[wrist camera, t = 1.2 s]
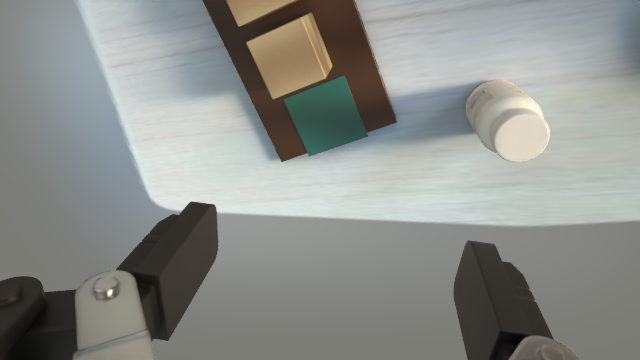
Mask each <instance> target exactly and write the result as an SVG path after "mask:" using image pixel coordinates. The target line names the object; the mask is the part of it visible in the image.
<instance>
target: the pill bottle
mask: <svg viewBox="0 0 640 360" xmlns="http://www.w3.org/2000/svg"><path fill="white" fill-rule="evenodd" d="M466 116H467V119H468V121H469V122H470V124H471V126H472V128H473V129H474V131H475V132H476V134H477V136H478V137H479V139H480V140H481V142H482V143H483V144H484V146H485V147H486V148H488V149H489V150H491V151H493V152H495V153H498V155H499V156H500V157H502V158H503V159H505V160H507V161H510V162H525V161H528V160H531V159H533V158H535V157H537V156H538V155H539V154H540V153H542V151H543V150H544V149H545V148H546V146H547V144H548V141H549V137H550V131H549V127H548V125H547V123H546V122H545V121H544V118H543V114H542V111H541V109H540V107H539V106H538V105H537V103H536V102H535V101H534V100H532V99H531V98H530V97H529V96H528V95H526V94H525V93H524V92H522V91H521V90H520V89H519V88H517V87H516V86H515V85H513V84H512V83H510V82H508V81H504V80H492V81H488V82H485V83H483V84H481V85H479V86H478V87H477V88H476V89H475V90H474V91H473V92H472V93H471V95H470V96H469V98H468V100H467V103H466Z"/></svg>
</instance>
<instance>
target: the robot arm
mask: <svg viewBox="0 0 640 360" xmlns="http://www.w3.org/2000/svg"><path fill="white" fill-rule="evenodd" d="M217 251H218V231H217V212H216V207H215V205H213V204H206V203H199V202H190V203H189V204H188V205H187V206H186V207H185V209H184V210H183V211H182V212H181V213H180V215H175V214H172V215H170V216H169V217H167V218H165V219H163V220H162V221H160V222H159V223H157V225H156V226H155V227H154V228H153V229H152V230H151V231H150V234H148V235H147V236H146V237H145V238H144V239H143V240H142V242H140V243H139V245H138V246H137V247H136V248H135V249H134V250H133V251H132V252H131V253H130V255H129V256H128V257H127V258H126V259H125V260H124V261H123V262H122V263H121V265H120V266H119V267H118V268H117V269H116V270H112V271H106V272H102V273H99V274H96V275H94V276H92V277H90V278H88V279H87V280H85V281H84V282H83V283H82V284H81V285H80V286H79V287H78V289H76V290H66V291H55V292H44V290H43V286H42V284H41V282H40V281H39V280H38V279H36V278H33V277H27V276H26V277H25V276H22V277H14V278H9V279H6V280H3V281H0V360H156V359H155V355H154V351H153V347H152V341H153V339H160V340H166V341H168V340H169V338H170V337H171V335H172V333H173V332H174V330H175V328H176V326H177V324H178V323H179V321H180V320H181V318H182V316H183V315H184V313H185V311H186V309H187V308H188V306H189V304H190V303H191V301H192V299H193V297H194V296H195V294H196V292H197V291H198V289H199V287H200V285H201V284H202V282H203V280H204V278H205V277H206V275H207V273H208V272H209V270H210V268H211V266H212V265H213V263H214V261H215V258H216V255H217ZM534 300H535V299H534V297H533V295H532V293H531V291H529V286H528V284H527V282H526V280H525V278H524V276H523V274H522V273H521V272H520V271H519V270H517V269H516V267H514V266H513V265H512V264H511V263H509V262H502V260H501V258H500V256H499V253H498V251H497V248H496V246H495V245H494V244H491V243H483V242H476V241H467V243H466V245H465V247H464V251H463V254H462V257H461V261H460V264H459V268H458V271H457V274H456V277H455V282H454V301H455V306H456V309H457V314H458V319H459V323H460V328H461V332H462V337H463V341H464V345H465V350H466V354H467V359H468V360H579V358H578V357H577V356H576V355H575V354H574V353H573V352H572V351H571V350H570V349H568V348H567V347H566V346H564V345H562V344H561V343H559V342H557V341H555V340H554V339H553V337H552V335H551V333H550V331H549V328H548V326H547V324H546V322H545V320H544V318H543V316H542V314H541V311H540V309H539V307H538V305H537V303H536V302H535V301H534Z"/></svg>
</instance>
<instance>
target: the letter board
mask: <svg viewBox="0 0 640 360" xmlns="http://www.w3.org/2000/svg"><path fill="white" fill-rule="evenodd" d="M203 2H204V4H205V6H206V8H207V10H208V12H209V14H210V16H211V18H212V20H213V22H214V24H215V26H216V28H217V30H218V32H219V35H220V37H221V39H222V41H223V43H224V45H225V47H226V49H227V51H228V53H229V55H230V57H231V59H232V61H233V63H234V65H235V67H236V69H237V71H238V73H239V75H240V77H241V80H242V82H243V84H244V86H245V88H246V90H247V92H248V94H249V96H250V98H251V100H252V102H253V104H254V106H255V108H256V110H257V112H258V114H259V116H260V118H261V120H262V122H263V124H264V127H265V129H266V131H267V133H268V135H269V137H270V139H271V141H272V143H273V145H274V147H275V149H276V151H277V153H278V155H279V157H280V159H281V161H282V162H283V161H286V160H289V159H292V158H294V157H297V156H300V155H303V154H306V153H308V155H309V156H312V155H315V154H318V153H320V152H323V151H326V150H329V149H332V148H335V147H338V146H341V145H344V144H347V143H350V142H353V141H356V140H358V139H361V138H364V137H367V136H368V135H367V132H370V131H373V130H376V129H378V128H381V127H384V126H387V125H390V124H393V123H396V122H397V120H396V117H395V114H394V111H393V108H392V105H391V102H390V99H389V97H388V94H387V91H386V88H385V85H384V82H383V80H382V77H381V74H380V71H379V68H378V65H377V62H376V60H375V57H374V54H373V51H372V48H371V45H370V43H369V40H368V37H367V34H366V31H365V28H364V25H363V23H362V20H361V17H360V14H359V11H358V8H357V6H356V3H355V0H203Z"/></svg>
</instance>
